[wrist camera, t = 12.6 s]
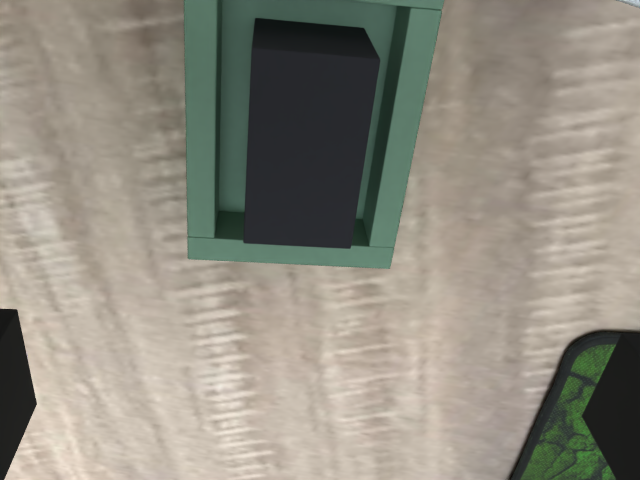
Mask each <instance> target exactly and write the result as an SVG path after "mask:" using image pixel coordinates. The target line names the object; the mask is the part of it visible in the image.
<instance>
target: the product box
mask: <svg viewBox="0 0 640 480" xmlns="http://www.w3.org/2000/svg"><path fill="white" fill-rule="evenodd" d="M617 1H620V2H623V3H626V4H629V5H632V6H635V7H638V8H640V0H617Z"/></svg>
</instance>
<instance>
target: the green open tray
mask: <svg viewBox="0 0 640 480" xmlns="http://www.w3.org/2000/svg"><path fill="white" fill-rule="evenodd" d="M443 3H444V0H184V41H185V105H186V169H187V234H188V237H187V240H188V259H196V260H217V261H238V262H258V263H279V264H300V265H321V266H341V267H362V268H383V269H390V266H391V261H392V256H393V252H394V246H395V241H396V236H397V231H398V227H399V222H400V217H401V212H402V207H403V202H404V197H405V192H406V187H407V182H408V177H409V172H410V167H411V162H412V157H413V152H414V147H415V142H416V138H417V133H418V128H419V123H420V118H421V113H422V108H423V103H424V98H425V93H426V88H427V83H428V78H429V73H430V68H431V63H432V58H433V54H434V49H435V44H436V39H437V34H438V29H439V24H440V19H441V14H442V11H441V10H442V8H443ZM255 18H263V19H274V20H284V21H295V22H306V23H317V24H328V25H338V26H349V27H360V28H364V29H365V31H366V33H367V34H368V36H369V38H370V40H371V42H372V44H373V46H374V48H375V50H376V52H377V54H378V56H379V58H380V67H379V73H378V79H377V86H376V92H375V98H374V105H373V111H372V118H371V124H370V130H369V137H368V143H367V149H366V156H365V162H364V169H363V175H362V181H361V188H360V194H359V200H358V207H357V213H356V220H355V226H354V232H353V239H352V245H351V249H342V248H322V247H303V246H283V245H264V244H245V243H244V242H243V236H244V212H245V189H246V165H247V142H248V119H249V95H250V72H251V49H252V40H253V31H254V22H255Z"/></svg>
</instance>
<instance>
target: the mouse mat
mask: <svg viewBox="0 0 640 480" xmlns="http://www.w3.org/2000/svg"><path fill="white" fill-rule="evenodd" d="M621 334H622V333H612V332H610V333H608V332H598V333H594V334H591V335H588V336H585V337H583V338H581V339H580V340H578V341H577V342H576V343H574V344H573V345H572V346H571V347H570V348H569V349H568V350H567V352H566V354H565V356H564V358H563V361H562V364H561V366H560V369H559V371H558V374H557V377H556V380H555V382H554V384H553V387H552V389H551V391H550V393H549V395H548V397H547V399H546V401H545V403H544V406H543V408H542V410H541V412H540V414H539V416H538V419H537V421H536V423H535V426H534V428H533V430H532V433H531V435H530V437H529V439H528V442H527V445H526V447H525V449H524V452H523V454H522V456H521V459H520V461H519V463H518V465H517V467H516V470H515V472H514V473H513V476H512V478H511V480H616V478H615V477H614V475H613V473H612V471H611V469H610V467H609V466H608V464H607V462H606V460H605V458H604V456H603V455H602V453H601V451H600V449H599V447H598V445H597V444H596V442H595V440H594V438H593V436H592V434H591V433H590V431H589V429H588V427H587V425H586V424H585V422H584V420H583V418H582V414H583V412H584V410H585V408H586V406H587V404H588V402H589V400H590V398H591V396H592V394H593V391H594V389H595V387H596V385H597V383H598V381H599V379H600V377H601V375H602V373H603V371H604V369H605V367H606V365H607V363H608V361H609V358H610V356H611V354H612V352H613V350H614V348H615V346H616V344H617V342H618V340H619V338H620V336H621ZM637 334H638V333H637Z"/></svg>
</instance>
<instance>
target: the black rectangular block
mask: <svg viewBox="0 0 640 480" xmlns="http://www.w3.org/2000/svg"><path fill="white" fill-rule="evenodd" d="M379 67H380V58H379V56H378V54H377V52H376V50H375V48H374V46H373V44H372V42H371V40H370V38H369V36H368V34H367V33H366V31H365V29H364V28H360V27H349V26H338V25H328V24H317V23H306V22H295V21H284V20H274V19H263V18H255V22H254V31H253V40H252V49H251V72H250V95H249V119H248V142H247V165H246V189H245V212H244V236H243V242H244V243H245V244H264V245H283V246H303V247H322V248H342V249H351V245H352V239H353V232H354V226H355V220H356V213H357V207H358V200H359V194H360V188H361V181H362V175H363V169H364V162H365V156H366V149H367V143H368V137H369V130H370V124H371V118H372V111H373V105H374V98H375V92H376V86H377V79H378V73H379Z"/></svg>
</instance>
